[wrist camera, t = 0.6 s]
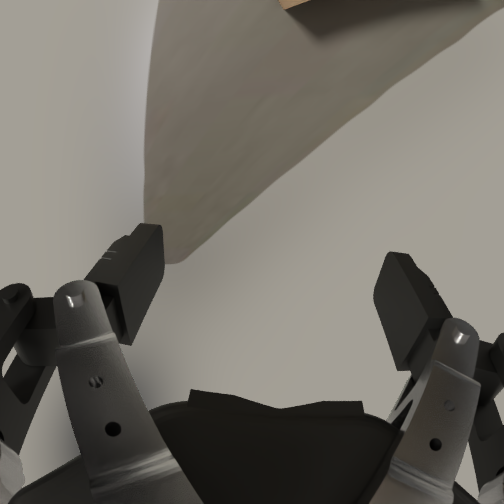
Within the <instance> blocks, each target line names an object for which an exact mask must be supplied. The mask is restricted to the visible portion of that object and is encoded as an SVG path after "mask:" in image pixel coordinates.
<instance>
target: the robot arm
mask: <svg viewBox="0 0 504 504" xmlns="http://www.w3.org/2000/svg"><path fill="white" fill-rule="evenodd" d="M164 268H165V261H164V245H163V230H162V226H161V225H155V224H145V223H140V224H139V225H138V226H137V227H136V228H135V230H134V231H133V232H132V233H131V235H130V236H127V235H125V236H123V237H121V238H120V239H118V240H116V241H115V242H114V243H113V244H112V245H111V246H110V247H109V249H108V250H107V252H105V253H104V255H103V256H102V258H101V259H100V260H99V261H98V262H97V263H96V264H95V266H94V267H93V269H92V270H91V271H90V272H89V273H88V275H87V276H86V277H85V279H84V280H76V281H72V282H69V283H66V284H65V285H63V286H61V287H60V288H59V289H58V290H57V291H56V292H55V294H54V297H45V298H33V296H32V292H31V290H30V288H29V287H28V286H27V285H25V284H22V283H17V284H11V285H9V286H6V287H4V288H3V289H1V290H0V504H504V425H503V424H502V421H501V418H500V415H499V412H498V410H497V407H496V404H495V402H494V398H495V397H496V395H497V394H498V393H499V392H500V391H501V390H502V389H503V388H504V333H501V334H500V335H499V336H498V338H497V339H496V341H495V342H494V343H493V344H491V343H488V342H484V341H481V340H479V336H478V333H477V332H476V330H475V329H474V328H473V327H472V326H471V325H470V324H469V323H467V322H466V321H464V320H462V319H458V318H453V317H452V315H451V313H450V311H449V310H448V308H447V306H446V305H445V303H444V301H443V299H442V298H441V296H440V295H439V293H438V291H437V290H436V288H434V285H433V283H432V282H431V280H430V278H429V277H428V276H427V275H426V274H425V273H424V272H422V271H421V270H420V269H419V268H418V267H417V266H416V264H415V263H414V261H413V259H412V258H411V256H410V255H409V254H406V253H398V252H389V253H387V255H386V257H385V260H384V263H383V265H382V268H381V271H380V274H379V277H378V280H377V283H376V285H375V288H374V294H373V296H374V297H373V299H374V304H375V307H376V309H377V312H378V315H379V318H380V321H381V324H382V326H383V329H384V332H385V335H386V338H387V341H388V344H389V347H390V350H391V353H392V356H393V359H394V362H395V366H396V369H397V371H409V370H410V371H411V376H410V377H409V379H408V380H407V382H406V384H405V386H404V388H403V390H402V392H401V394H400V396H399V398H398V400H397V402H396V404H395V406H394V407H393V409H392V411H391V413H390V415H389V417H388V418H387V420H386V421H385V420H383V419H381V418H378V417H376V416H373V415H370V414H366V413H364V409H363V404H362V401H321V402H316V403H311V404H306V405H301V406H295V407H289V408H282V409H278V408H274V407H270V406H267V405H263V404H260V403H257V402H254V401H250V400H247V399H244V398H241V397H238V396H235V395H228V394H221V393H213V392H205V391H199V390H193V389H191V390H190V395H189V399H188V401H181V402H175V403H169V404H166V405H162V406H159V407H156V408H154V409H151V410H149V411H148V409H147V407H146V405H145V403H144V401H143V399H142V397H141V395H140V392H139V390H138V388H137V386H136V383H135V381H134V379H133V377H132V375H131V372H130V370H129V367H128V365H127V363H126V360H125V358H124V356H123V353H122V350H121V348H120V345H119V343H121V344H125V345H130V346H131V345H132V343H133V341H134V339H135V337H136V334H137V332H138V330H139V328H140V326H141V323H142V321H143V319H144V317H145V315H146V312H147V310H148V308H149V306H150V304H151V302H152V299H153V298H154V296H155V293H156V292H157V289H158V287H159V285H160V283H161V281H162V279H163V275H164ZM13 346H14V348H15V350H16V352H17V355H16V356H15V358H14V360H13V362H12V363H11V365H10V367H9V369H8V370H7V372H6V374H5V376H4V378H3V376H2V366H3V363H4V361H5V359H6V358H7V356H8V354H9V353H10V351H11V349H12V348H13ZM56 366H57V367H58V372H59V377H60V382H61V386H62V391H63V395H64V399H65V403H66V407H67V411H68V415H69V419H70V422H71V426H72V429H73V433H74V436H75V439H76V442H77V445H78V448H79V451H80V455H79V456H77V457H75V458H74V459H72V460H70V461H69V462H67V463H66V464H64V465H62V466H61V467H59V468H57V469H55V470H54V471H52V472H50V473H49V474H47V475H45V476H43V477H41V478H40V479H38V480H36V481H34V482H33V483H31V484H29V485H27V486H25V487H24V488H22V486H23V485H24V483H25V477H24V474H23V468H22V463H21V460H20V458H19V453H20V450H21V448H22V445H23V442H24V439H25V437H26V434H27V431H28V429H29V427H30V424H31V421H32V419H33V417H34V414H35V412H36V409H37V407H38V405H39V403H40V400H41V398H42V396H43V393H44V391H45V389H46V387H47V385H48V383H49V381H50V378H51V376H52V374H53V372H54V370H55V368H56ZM467 442H469V446H470V450H471V455H472V459H473V464H474V469H475V473H476V478H477V484H478V489H479V496H478V500H476V499H475V498H473V497H472V496H471V495H470V494H469V493H468V492H467V491H466V490H464V489H463V488H462V487H461V486H460V485H459V484H458V483H457V482H455V478H456V475H457V473H458V470H459V467H460V464H461V461H462V458H463V455H464V452H465V449H466V445H467Z"/></svg>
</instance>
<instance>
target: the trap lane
mask: <svg viewBox="0 0 504 504" xmlns="http://www.w3.org/2000/svg"><path fill="white" fill-rule="evenodd" d="M278 1H279V3H280V4H281V6H282V8H283V9H284V10H285V9H288V8H290V7H293V6H295V5H298V4H301V3H303V2H306V1H309V0H278Z"/></svg>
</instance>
